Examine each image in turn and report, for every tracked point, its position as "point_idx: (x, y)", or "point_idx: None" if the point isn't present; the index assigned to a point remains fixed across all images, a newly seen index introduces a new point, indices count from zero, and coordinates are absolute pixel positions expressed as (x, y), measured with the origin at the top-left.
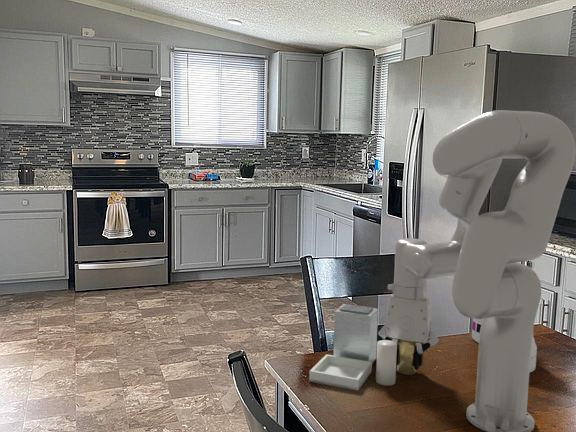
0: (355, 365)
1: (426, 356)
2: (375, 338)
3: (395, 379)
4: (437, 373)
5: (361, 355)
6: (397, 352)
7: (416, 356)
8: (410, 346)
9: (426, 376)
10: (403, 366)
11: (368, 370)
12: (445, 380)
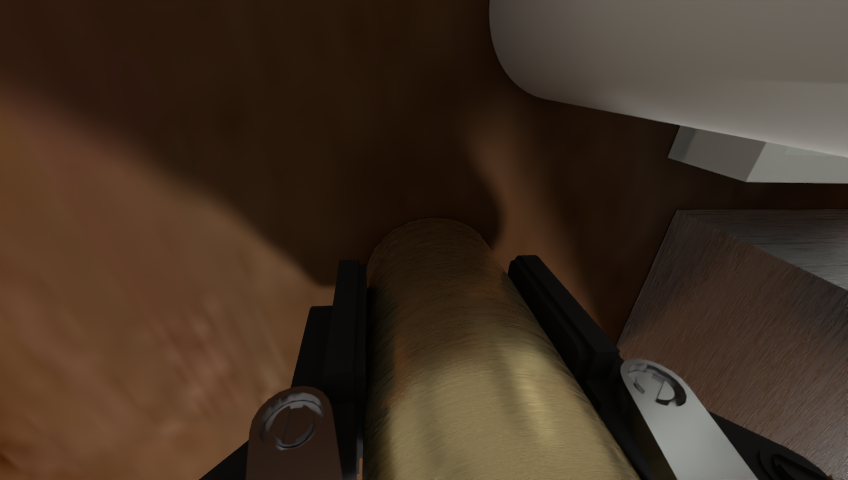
0: None
1: None
2: None
3: (499, 2)
4: (226, 327)
5: (822, 249)
6: (563, 353)
7: (345, 345)
8: (446, 454)
9: (276, 252)
10: (459, 245)
11: None
12: (111, 243)
